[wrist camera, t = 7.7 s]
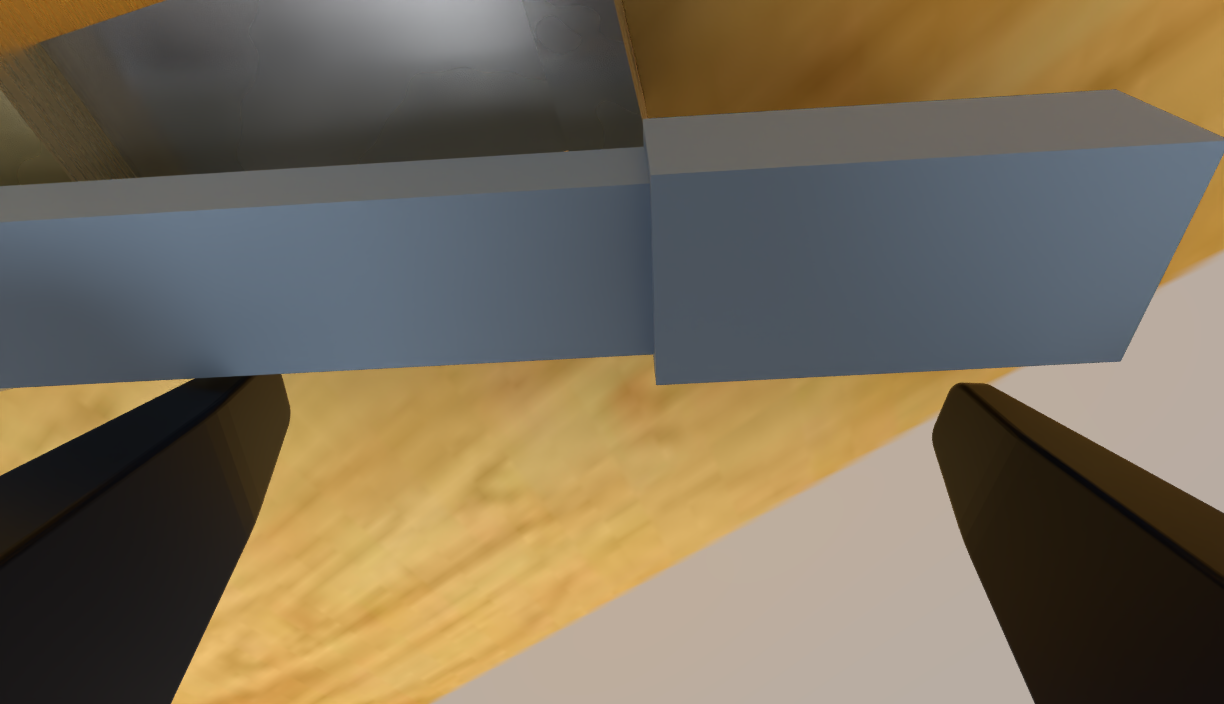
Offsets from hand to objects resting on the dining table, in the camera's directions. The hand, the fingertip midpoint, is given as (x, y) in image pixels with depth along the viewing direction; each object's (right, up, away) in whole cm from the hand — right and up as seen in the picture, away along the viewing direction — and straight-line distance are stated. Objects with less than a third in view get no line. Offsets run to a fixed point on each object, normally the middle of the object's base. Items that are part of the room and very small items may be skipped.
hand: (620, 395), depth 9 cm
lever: (-3, +2, -1) cm, 4 cm away
